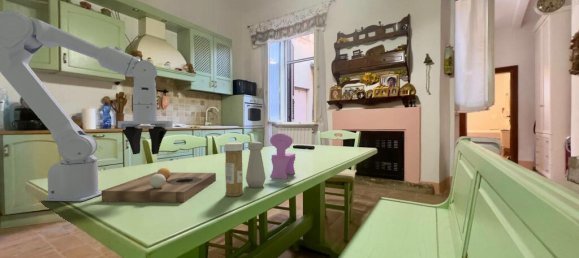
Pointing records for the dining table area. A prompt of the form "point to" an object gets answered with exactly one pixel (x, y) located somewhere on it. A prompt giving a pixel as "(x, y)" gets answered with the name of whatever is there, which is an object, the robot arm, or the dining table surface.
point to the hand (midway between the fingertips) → (145, 153)
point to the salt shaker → (255, 166)
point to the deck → (173, 190)
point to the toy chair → (282, 156)
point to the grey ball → (157, 181)
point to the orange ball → (164, 172)
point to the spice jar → (233, 169)
